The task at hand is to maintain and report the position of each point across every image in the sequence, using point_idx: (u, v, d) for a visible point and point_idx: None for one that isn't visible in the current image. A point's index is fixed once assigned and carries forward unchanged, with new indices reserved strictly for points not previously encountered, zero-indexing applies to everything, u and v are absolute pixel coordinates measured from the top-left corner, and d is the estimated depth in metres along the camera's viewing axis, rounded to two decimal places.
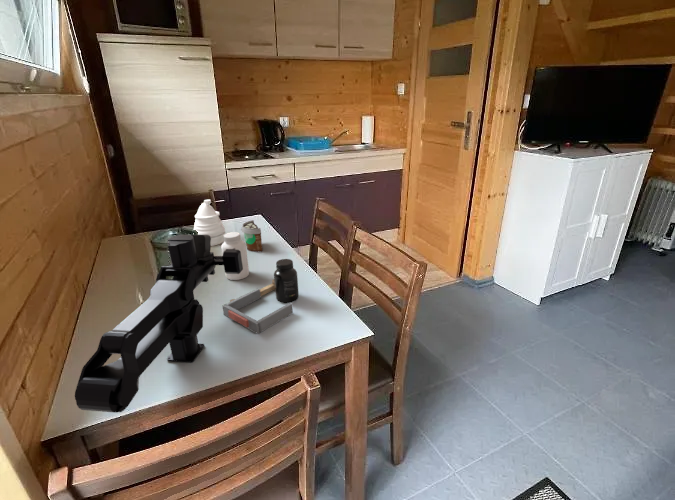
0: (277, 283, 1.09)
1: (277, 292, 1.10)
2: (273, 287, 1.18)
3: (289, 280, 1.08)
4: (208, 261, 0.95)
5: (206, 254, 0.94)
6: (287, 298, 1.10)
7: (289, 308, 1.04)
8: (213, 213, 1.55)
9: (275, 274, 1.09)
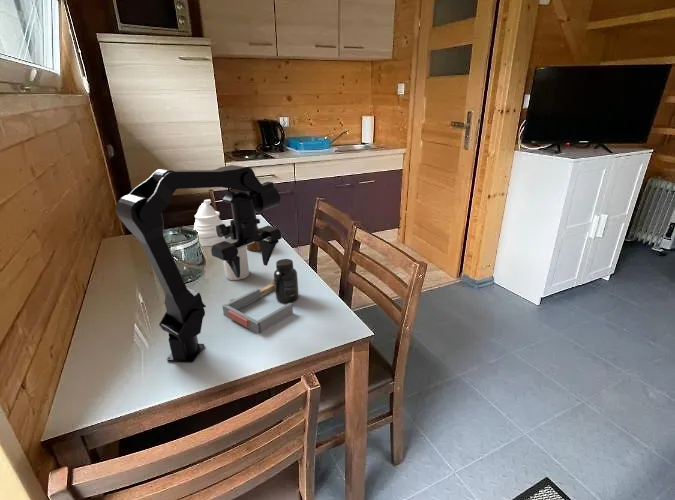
0: (277, 283, 1.09)
1: (277, 292, 1.10)
2: (273, 287, 1.18)
3: (289, 280, 1.08)
4: None
5: None
6: (287, 298, 1.10)
7: (289, 308, 1.04)
8: (213, 213, 1.55)
9: (275, 274, 1.09)
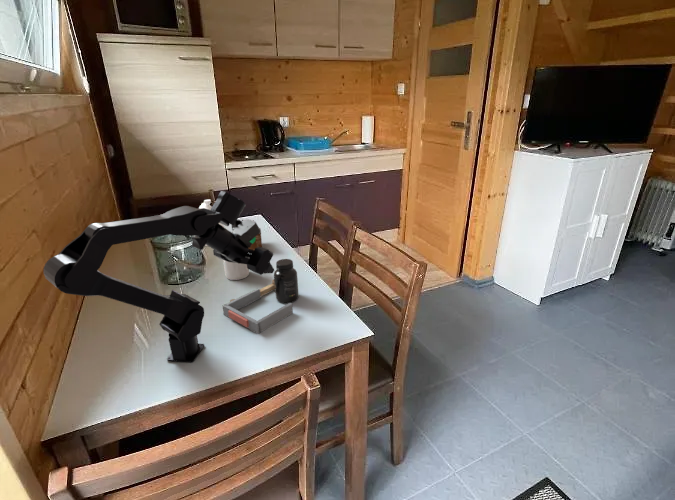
0: (277, 283, 1.09)
1: (277, 292, 1.10)
2: (273, 287, 1.18)
3: (289, 280, 1.08)
4: (241, 244, 0.93)
5: (244, 236, 0.93)
6: (287, 298, 1.10)
7: (289, 308, 1.04)
8: None
9: (275, 274, 1.09)
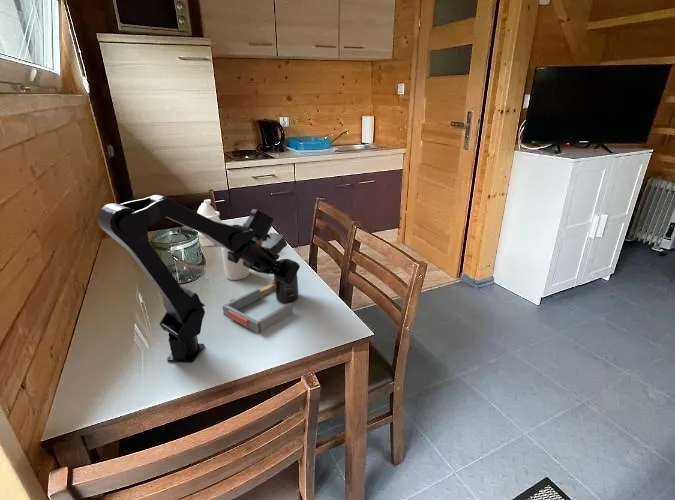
0: (277, 283, 1.09)
1: (277, 292, 1.10)
2: (273, 287, 1.18)
3: None
4: (270, 256, 1.01)
5: (273, 249, 1.02)
6: (287, 298, 1.10)
7: (289, 308, 1.04)
8: (213, 213, 1.55)
9: (275, 274, 1.09)
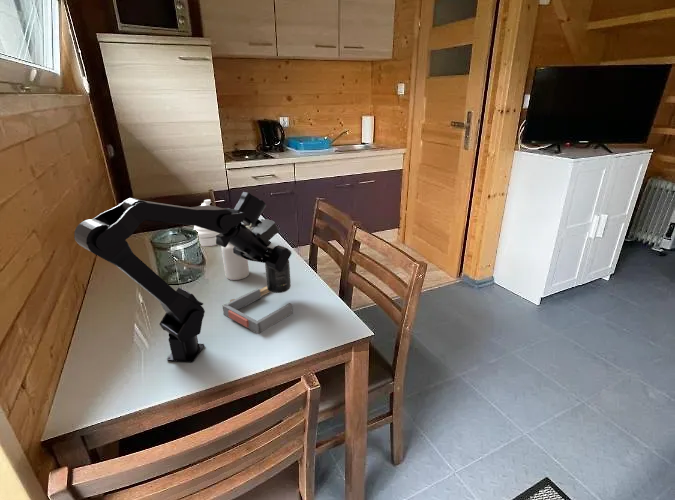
0: (268, 272, 1.05)
1: (268, 281, 1.06)
2: None
3: None
4: (261, 242, 0.98)
5: (264, 235, 0.98)
6: (278, 288, 1.06)
7: (289, 308, 1.04)
8: None
9: (266, 262, 1.05)
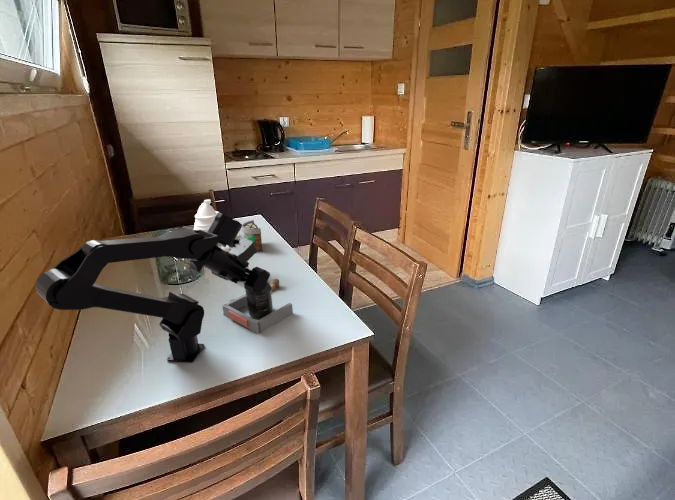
0: (248, 297, 1.02)
1: (249, 307, 1.03)
2: (273, 287, 1.18)
3: (261, 294, 1.01)
4: (239, 264, 0.94)
5: (242, 256, 0.94)
6: (259, 313, 1.03)
7: (289, 308, 1.04)
8: (213, 213, 1.55)
9: None
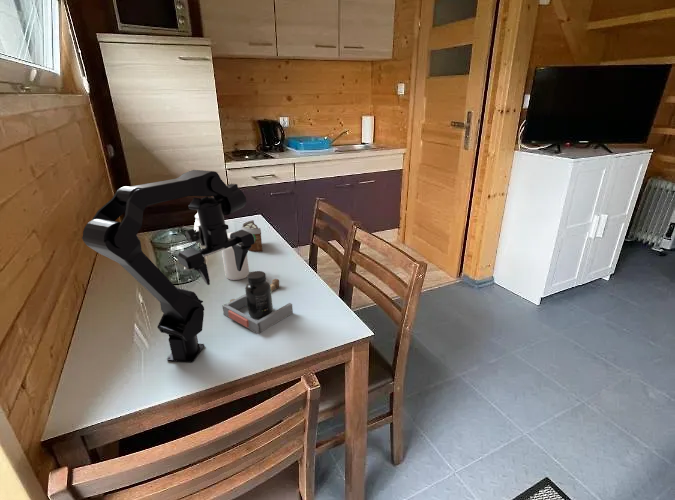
0: (248, 297, 1.02)
1: (249, 307, 1.03)
2: (273, 287, 1.18)
3: (261, 294, 1.01)
4: None
5: None
6: (259, 313, 1.03)
7: (289, 308, 1.04)
8: None
9: (246, 288, 1.02)
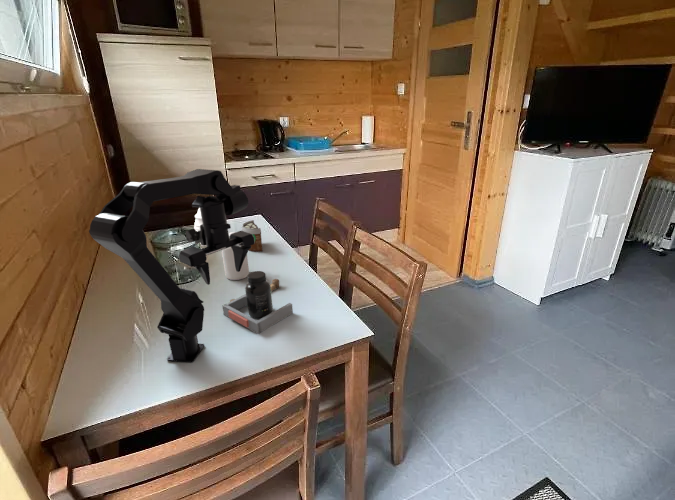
0: (248, 297, 1.02)
1: (249, 307, 1.03)
2: (273, 287, 1.18)
3: (261, 294, 1.01)
4: None
5: None
6: (259, 313, 1.03)
7: (289, 308, 1.04)
8: None
9: (246, 288, 1.02)
